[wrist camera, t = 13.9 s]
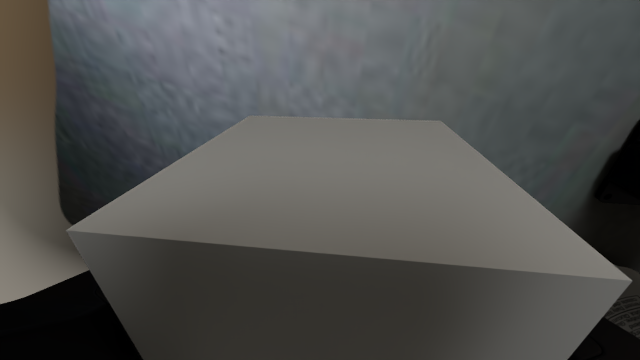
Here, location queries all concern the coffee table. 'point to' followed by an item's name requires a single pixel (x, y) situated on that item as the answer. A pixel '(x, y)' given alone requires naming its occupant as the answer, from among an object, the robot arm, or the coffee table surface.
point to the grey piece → (343, 251)
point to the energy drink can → (627, 305)
